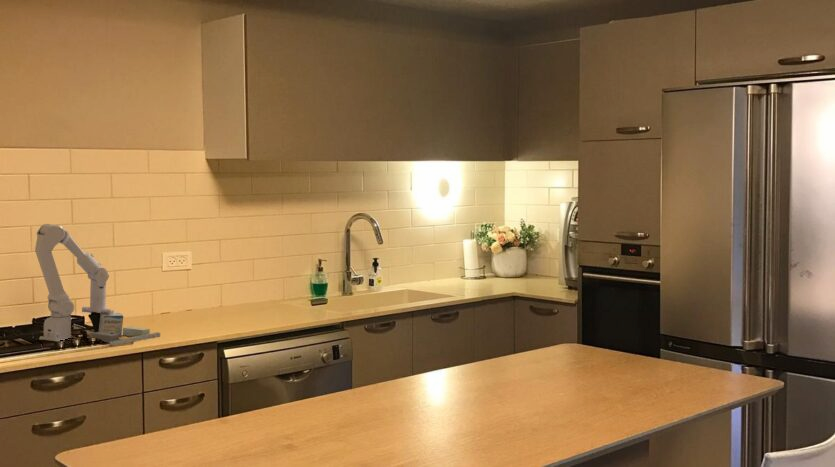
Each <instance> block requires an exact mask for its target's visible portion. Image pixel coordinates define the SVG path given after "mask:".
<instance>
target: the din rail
mask: <svg viewBox="0 0 835 467" xmlns="http://www.w3.org/2000/svg"><path fill="white" fill-rule="evenodd" d="M159 337H161V332H153V333H152V332H150V334H145V335H140V336H135V337H133V336H129V337H126V338H119V340H114V341H110V344H109V346H112V347H114V346H119V345H124V344H128V343H134V342H138V341H145V340H149V339H153V338H159Z"/></svg>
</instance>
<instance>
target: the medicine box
mask: <svg viewBox="0 0 835 467" xmlns="http://www.w3.org/2000/svg"><path fill="white" fill-rule="evenodd" d="M123 322H124V315H123V314H122V313H121V312H114V315H108V314H105V313H100V324H99V332H104V333H113V334H119V337H122V336H123V325H124V324H123Z"/></svg>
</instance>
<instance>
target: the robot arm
mask: <svg viewBox="0 0 835 467" xmlns="http://www.w3.org/2000/svg"><path fill="white" fill-rule="evenodd" d="M64 228H65V227H63V226H62V225H57V224H50V223H44V224H42V225H41V226H40V227H39V229H38V230H37V231H36V236H37V237H36V242H35V247H34V252H35V254H36V257H37V261H38V263H39V267H40V270H41V273H42V276H43V279H44V282H45V285H46V288H47V292H48V296H47V301H48V303H47V304H48V305H47V308H48V310H49V311H50V317H47V318H46V319H45V320H44V322H43V337H42V338H41V340H42V341H43V340H45V341H51V342H61V341H60V340H63V341H66V340H65V339H68V338H70V337H71V336H72V335H71V334H72V333H71V331H72V326H71V325H72V324H71V323H72V314H73V312H74V310H75V303H74V302H73V301H72V300H71V299H70V296H69V295H68V294H67V292H66V291H65V289H64V287H63V283H62V280H61V277H60V274H59V270H58V267H57V265H56V261H55V258H54V255H53V252H52V251H53V250H54V249H55V247H56V246H57V245H58V244H61V245H63V246H64V247H65V248H66V249H68V251H69V252H70V253H71V254H72V255H73V256H75V258H76V263H77V265H78V266H79V267H80V268H82V270H83V271H84V272H85V273H86V274H87V277H88V279H89V280H90V287H89V288H90V292H89V293H90V294H89V296H90V297H89V306H83V307H81V312H82V313H89V314H88V317H89V318H88V319H89V320H90V322H91V325H92V329H93V333H95V332H99V324H100V313H105V314H108V315H114V313H115V312H114V311H115V310H114V309H109V308H107V307H106V300H107V299H106V296H107V294H106V293H107V292H106V291H107V290H106V289H107V281H108V280H109V278H110V274H109V272H108V270H107V269H106V268H104V267H102V264H101V263H100V262H98V261H97V260H96V259H95V258H94V257H95V256H94V255H93V254H92V253H89V252H85V251H84V250H82V248H81V247H80V246H79V245H78V244H77V242H76V241H75V240H74V238H73V237H72V236H71V235H70V233H69V232H68V231H67V230H66V229H64ZM68 340H69V339H68Z"/></svg>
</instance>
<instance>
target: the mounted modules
mask: <svg viewBox="0 0 835 467" xmlns="http://www.w3.org/2000/svg"><path fill="white" fill-rule="evenodd" d="M150 329H151V328H147V327H138V326H132V325H131V326H125V327H122V336H127V337H135V336H140V335H145V334H151V332H150V331H151V330H150ZM91 337H92V338H98V339H101V340H102V341H104V342H107V343H106V344H109V345H110V341H114V340H119V339H120V336H119V334H111V333H104V332H92V333H90V338H91Z"/></svg>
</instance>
